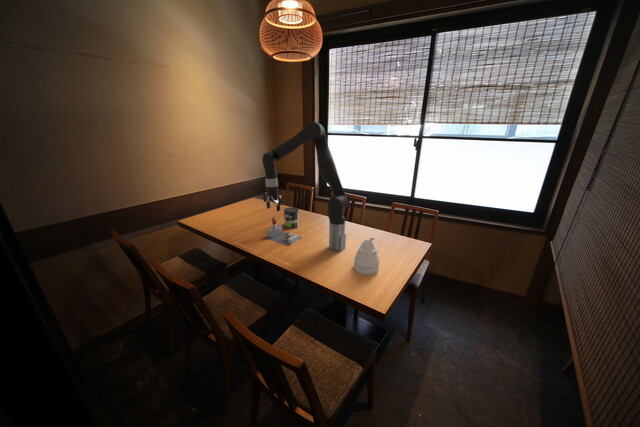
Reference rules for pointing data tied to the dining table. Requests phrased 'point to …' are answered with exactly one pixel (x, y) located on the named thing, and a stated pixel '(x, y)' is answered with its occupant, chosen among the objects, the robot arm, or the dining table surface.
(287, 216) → the coffee can
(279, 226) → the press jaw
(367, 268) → the honey pot
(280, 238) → the nutcracker bench
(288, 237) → the tan ball
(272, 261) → the dining table surface
